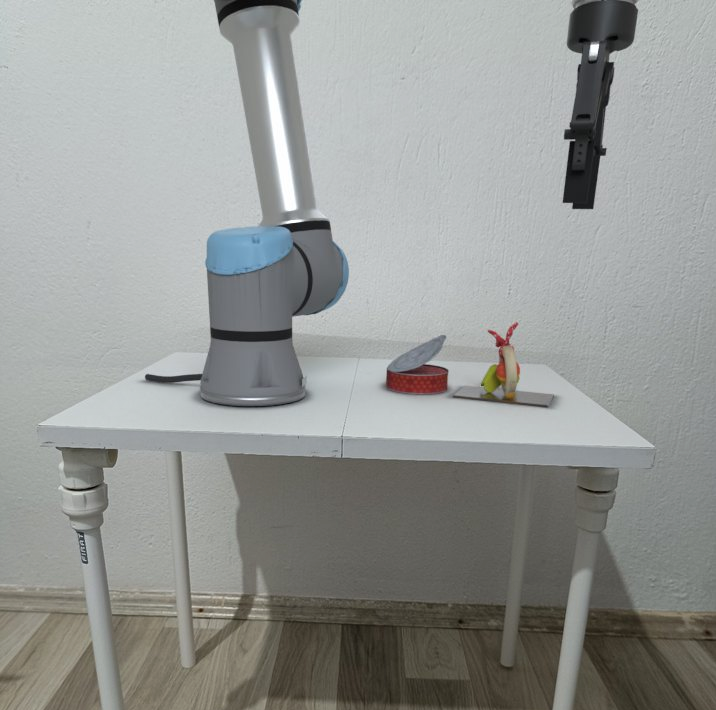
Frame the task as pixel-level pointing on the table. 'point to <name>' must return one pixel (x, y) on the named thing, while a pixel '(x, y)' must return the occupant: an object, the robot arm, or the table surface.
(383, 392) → the table surface
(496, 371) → the bird rattle
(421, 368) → the canned food
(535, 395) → the flat grey rectangular slab
